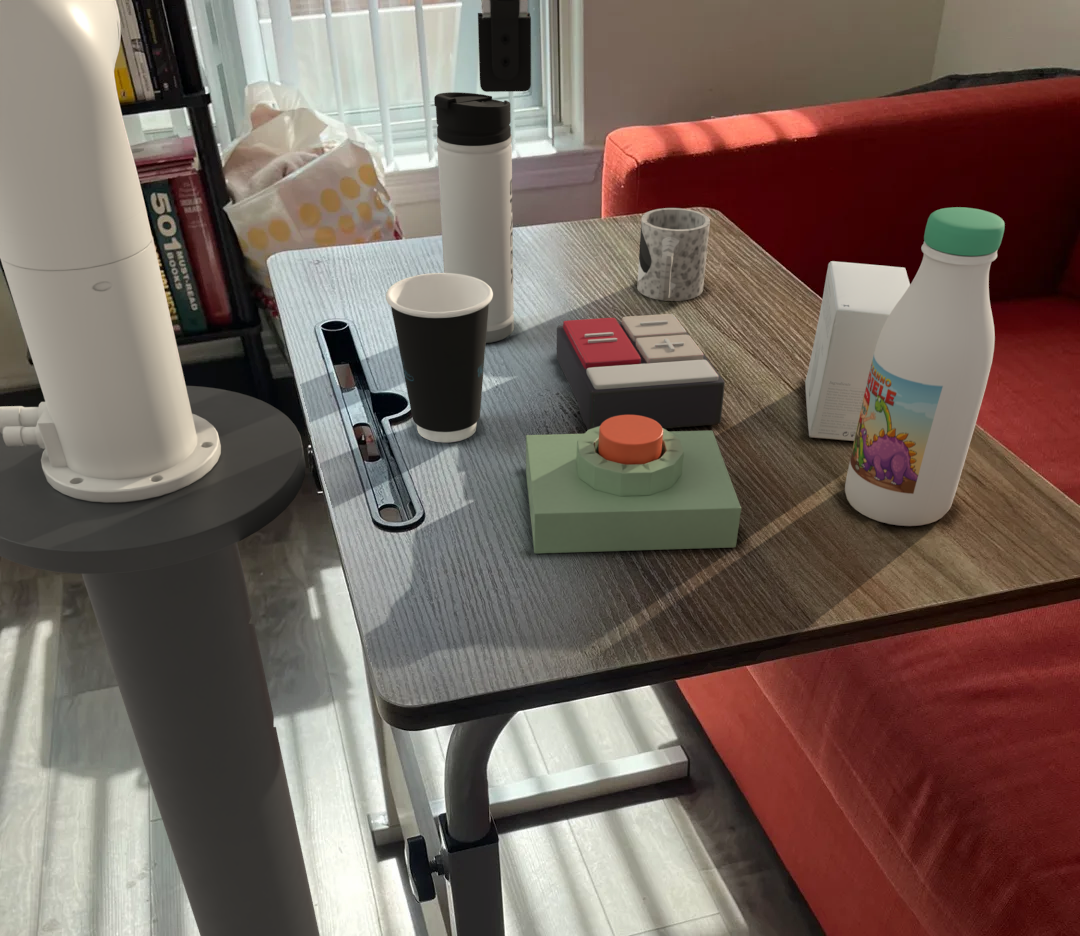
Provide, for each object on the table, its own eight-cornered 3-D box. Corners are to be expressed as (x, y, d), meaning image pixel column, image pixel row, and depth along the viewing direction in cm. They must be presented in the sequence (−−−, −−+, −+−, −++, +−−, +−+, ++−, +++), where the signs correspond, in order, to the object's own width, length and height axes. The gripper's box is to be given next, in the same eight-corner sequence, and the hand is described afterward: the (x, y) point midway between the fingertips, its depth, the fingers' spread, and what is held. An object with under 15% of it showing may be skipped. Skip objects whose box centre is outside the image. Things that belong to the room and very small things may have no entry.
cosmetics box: (890, 446, 88) (922, 315, 81) (808, 439, 88) (832, 309, 81) (880, 387, 95) (908, 263, 88) (804, 382, 96) (826, 258, 89)
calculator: (677, 308, 99) (727, 373, 87) (673, 356, 101) (722, 424, 90) (555, 316, 97) (590, 383, 86) (555, 364, 100) (589, 435, 88)
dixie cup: (378, 426, 90) (364, 289, 82) (454, 396, 94) (448, 264, 86) (438, 462, 85) (429, 322, 78) (516, 430, 89) (514, 294, 82)
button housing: (534, 553, 76) (534, 489, 73) (525, 473, 84) (525, 412, 81) (735, 547, 77) (745, 484, 73) (708, 468, 85) (715, 407, 82)
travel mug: (430, 330, 104) (415, 90, 90) (484, 311, 107) (477, 78, 94) (473, 351, 100) (464, 105, 87) (527, 331, 104) (526, 91, 90)
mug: (641, 273, 115) (646, 205, 110) (706, 278, 114) (713, 210, 109) (627, 310, 107) (631, 240, 103) (696, 316, 106) (703, 245, 102)
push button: (601, 468, 76) (602, 445, 75) (595, 437, 79) (596, 414, 78) (665, 466, 76) (667, 443, 75) (656, 436, 79) (658, 413, 78)
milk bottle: (920, 470, 85) (993, 193, 72) (970, 523, 79) (1058, 233, 66) (826, 480, 84) (882, 201, 70) (870, 535, 78) (939, 242, 65)
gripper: (429, -302, 64) (446, 62, 76) (426, -306, 53) (446, 120, 65) (559, -301, 64) (555, 61, 76) (583, -304, 53) (573, 119, 65)
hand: (505, 87), depth 71 cm, fingers closed
